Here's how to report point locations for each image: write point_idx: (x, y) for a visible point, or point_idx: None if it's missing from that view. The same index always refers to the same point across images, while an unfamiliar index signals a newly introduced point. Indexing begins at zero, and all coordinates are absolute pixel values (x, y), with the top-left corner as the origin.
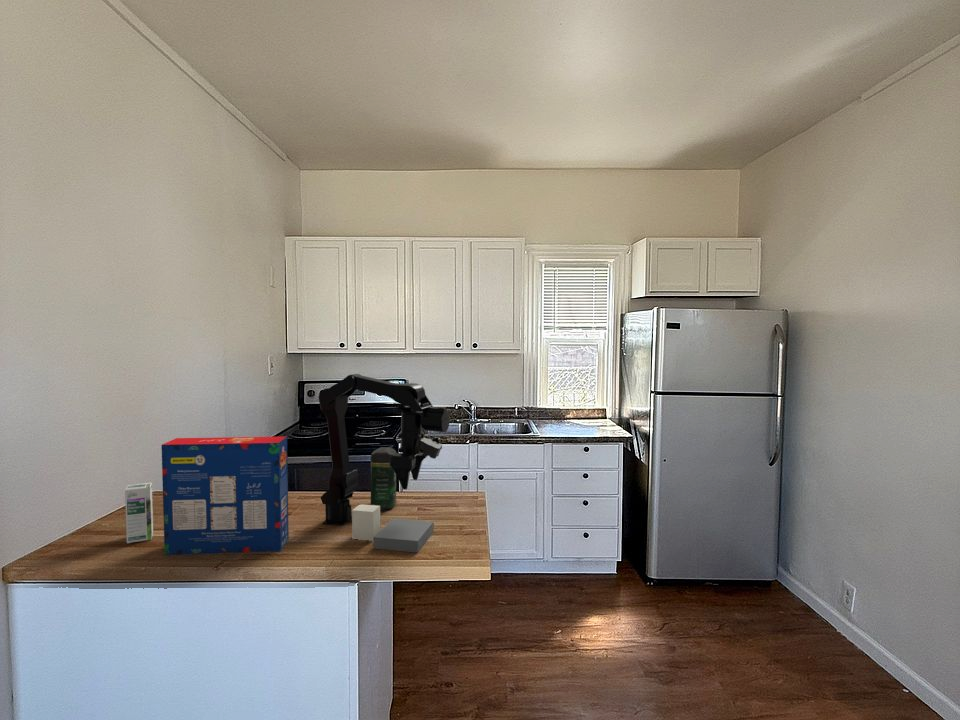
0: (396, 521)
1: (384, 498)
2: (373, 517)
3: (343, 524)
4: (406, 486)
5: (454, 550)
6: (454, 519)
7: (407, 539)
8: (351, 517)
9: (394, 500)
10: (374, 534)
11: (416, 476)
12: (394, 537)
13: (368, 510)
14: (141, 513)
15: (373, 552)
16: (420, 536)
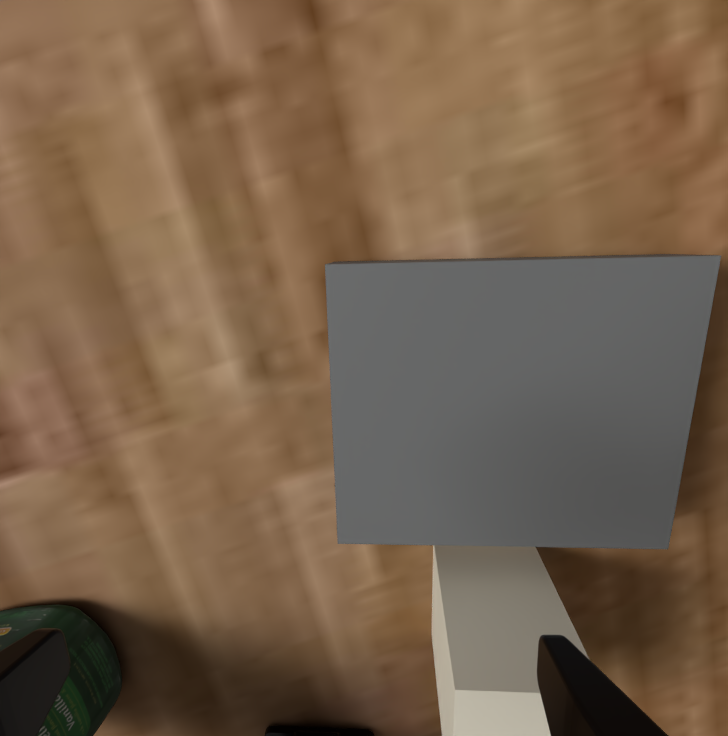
0: (387, 506)
1: (64, 691)
2: None
3: (367, 732)
4: (600, 678)
5: (612, 12)
6: (82, 190)
7: (695, 337)
8: (278, 731)
9: (16, 629)
10: (523, 561)
11: (19, 680)
12: (666, 430)
13: None
14: None
15: (681, 491)
16: (632, 265)
